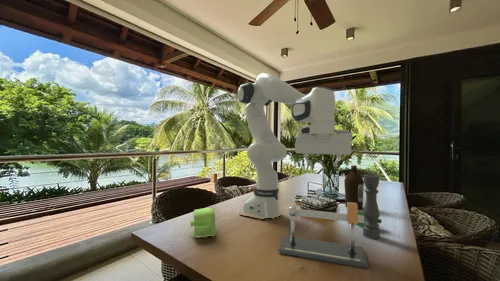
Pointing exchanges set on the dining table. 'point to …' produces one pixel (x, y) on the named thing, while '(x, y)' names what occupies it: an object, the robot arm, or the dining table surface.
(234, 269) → the dining table surface
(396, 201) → the dining table surface
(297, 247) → the bolt plate
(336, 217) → the dividers frame
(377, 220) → the clamp
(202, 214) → the gearbox
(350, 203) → the leg
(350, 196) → the olive oil
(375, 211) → the candle holder
